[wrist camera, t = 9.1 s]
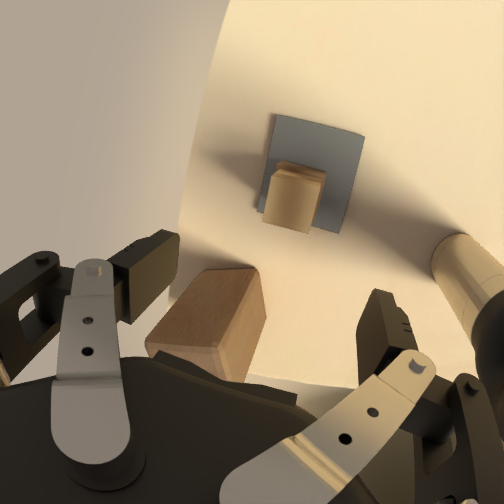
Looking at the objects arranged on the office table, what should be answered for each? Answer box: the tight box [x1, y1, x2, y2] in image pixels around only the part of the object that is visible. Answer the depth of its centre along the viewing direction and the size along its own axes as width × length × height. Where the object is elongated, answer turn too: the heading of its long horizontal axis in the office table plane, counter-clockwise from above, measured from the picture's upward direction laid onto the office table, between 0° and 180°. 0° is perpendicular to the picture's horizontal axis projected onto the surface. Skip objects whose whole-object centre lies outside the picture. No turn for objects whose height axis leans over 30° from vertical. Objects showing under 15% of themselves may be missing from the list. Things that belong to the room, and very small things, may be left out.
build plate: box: [257, 115, 365, 234], centre depth 40 cm, size 12×14×1 cm
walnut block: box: [275, 160, 326, 223], centre depth 38 cm, size 6×6×5 cm
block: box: [145, 268, 266, 383], centre depth 42 cm, size 10×10×20 cm
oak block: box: [262, 169, 321, 234], centre depth 33 cm, size 5×5×6 cm
